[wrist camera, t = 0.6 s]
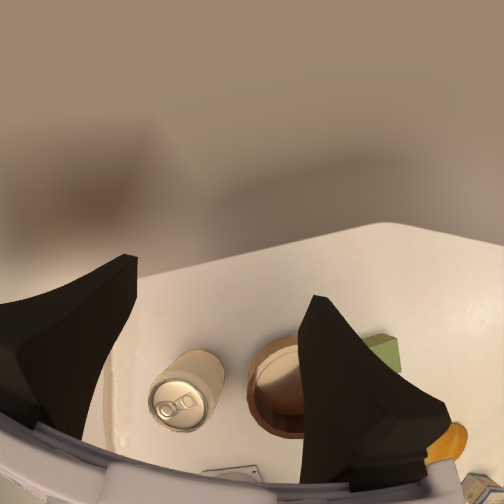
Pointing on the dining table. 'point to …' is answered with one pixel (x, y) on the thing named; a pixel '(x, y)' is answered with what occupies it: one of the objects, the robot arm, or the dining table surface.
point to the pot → (277, 389)
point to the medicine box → (481, 490)
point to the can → (187, 392)
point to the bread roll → (448, 444)
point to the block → (385, 350)
